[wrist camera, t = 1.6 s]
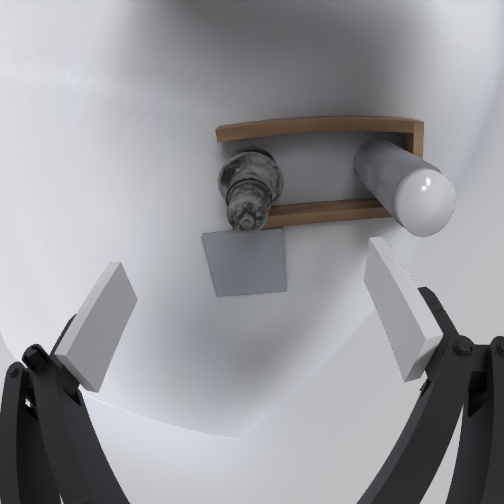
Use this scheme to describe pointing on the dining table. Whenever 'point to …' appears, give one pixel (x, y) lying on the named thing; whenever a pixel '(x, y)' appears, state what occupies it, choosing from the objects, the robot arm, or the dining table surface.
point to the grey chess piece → (250, 188)
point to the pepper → (406, 186)
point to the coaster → (246, 261)
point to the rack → (327, 209)
